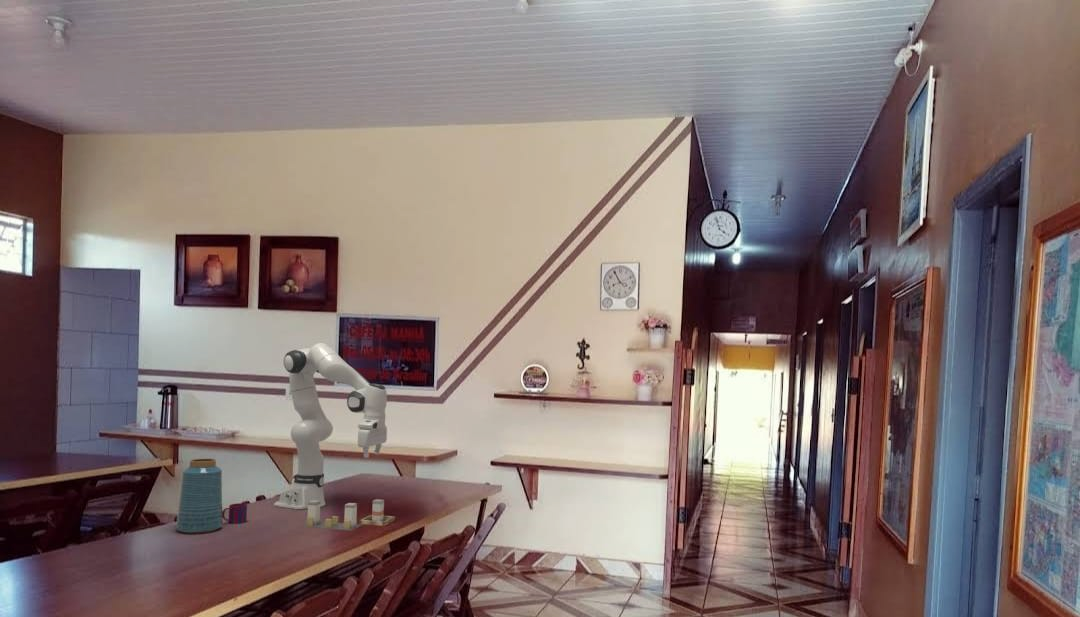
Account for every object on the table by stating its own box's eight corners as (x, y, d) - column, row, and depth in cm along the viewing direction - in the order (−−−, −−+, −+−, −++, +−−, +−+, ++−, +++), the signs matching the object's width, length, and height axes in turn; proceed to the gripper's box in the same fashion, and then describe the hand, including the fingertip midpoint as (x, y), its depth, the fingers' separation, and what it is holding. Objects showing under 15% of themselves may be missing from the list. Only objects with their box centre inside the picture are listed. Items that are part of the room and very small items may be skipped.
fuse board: (299, 529, 286) (300, 518, 286) (313, 523, 295) (313, 513, 296) (350, 533, 281) (351, 522, 281) (362, 527, 291) (363, 517, 291)
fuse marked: (371, 523, 296) (372, 500, 296) (375, 521, 299) (376, 499, 299) (379, 523, 295) (380, 501, 295) (383, 522, 298) (384, 499, 299)
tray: (358, 526, 293) (359, 520, 293) (371, 520, 303) (371, 514, 303) (384, 528, 290) (384, 522, 290) (395, 522, 301) (395, 516, 301)
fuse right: (344, 527, 285) (344, 504, 286) (348, 525, 288) (349, 502, 289) (351, 528, 284) (352, 505, 285) (356, 526, 288) (356, 503, 288)
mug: (249, 522, 296) (250, 505, 297) (225, 525, 289) (226, 508, 289) (241, 519, 301) (242, 502, 301) (217, 523, 293) (218, 505, 294)
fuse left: (307, 524, 289) (308, 501, 289) (311, 522, 292) (312, 500, 293) (314, 525, 288) (315, 502, 289) (319, 523, 291) (320, 500, 292)
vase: (177, 526, 286) (181, 457, 288) (222, 523, 293) (225, 456, 295) (174, 535, 271) (178, 463, 273) (222, 532, 278) (225, 462, 280)
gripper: (378, 420, 316) (375, 452, 315) (356, 424, 296) (353, 458, 295) (391, 421, 314) (389, 453, 314) (370, 425, 295) (367, 459, 294)
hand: (371, 455), depth 304 cm, fingers open, 8 cm apart
